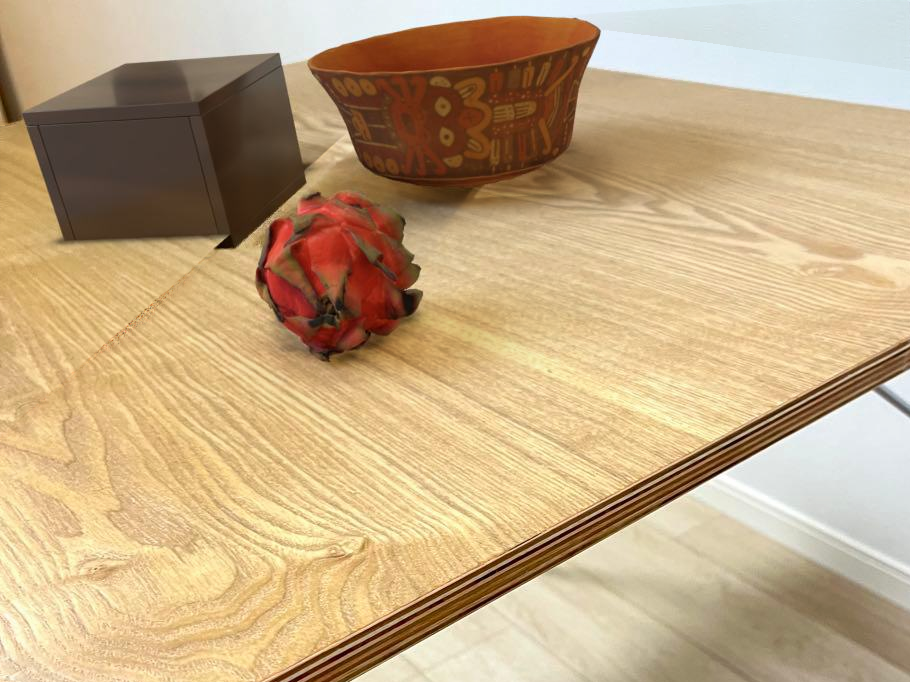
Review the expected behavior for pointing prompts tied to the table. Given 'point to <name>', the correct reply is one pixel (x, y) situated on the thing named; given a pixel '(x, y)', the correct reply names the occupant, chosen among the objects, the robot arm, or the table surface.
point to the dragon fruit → (338, 271)
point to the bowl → (460, 97)
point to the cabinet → (170, 149)
